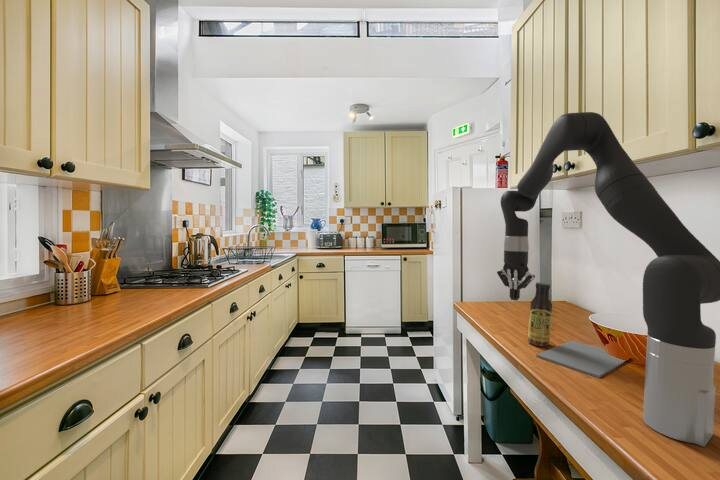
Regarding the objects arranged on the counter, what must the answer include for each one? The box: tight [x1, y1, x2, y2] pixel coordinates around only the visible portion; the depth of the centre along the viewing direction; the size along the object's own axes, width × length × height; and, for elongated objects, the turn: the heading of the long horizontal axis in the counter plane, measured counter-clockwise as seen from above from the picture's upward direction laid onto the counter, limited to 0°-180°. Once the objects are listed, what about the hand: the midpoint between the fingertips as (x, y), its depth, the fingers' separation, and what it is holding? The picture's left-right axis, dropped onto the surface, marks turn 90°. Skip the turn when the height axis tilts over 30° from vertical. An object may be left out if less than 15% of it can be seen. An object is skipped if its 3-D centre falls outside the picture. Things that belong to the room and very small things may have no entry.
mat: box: [535, 340, 626, 379], centre depth 97 cm, size 16×22×1 cm
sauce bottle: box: [527, 282, 553, 347], centre depth 107 cm, size 6×6×20 cm
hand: (514, 299), depth 114 cm, fingers closed
